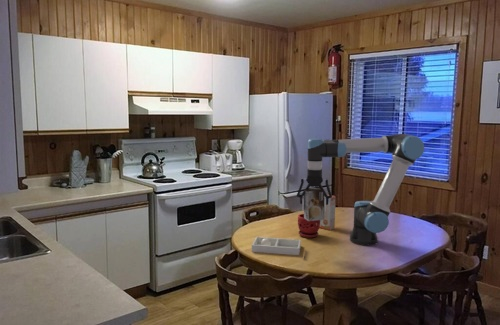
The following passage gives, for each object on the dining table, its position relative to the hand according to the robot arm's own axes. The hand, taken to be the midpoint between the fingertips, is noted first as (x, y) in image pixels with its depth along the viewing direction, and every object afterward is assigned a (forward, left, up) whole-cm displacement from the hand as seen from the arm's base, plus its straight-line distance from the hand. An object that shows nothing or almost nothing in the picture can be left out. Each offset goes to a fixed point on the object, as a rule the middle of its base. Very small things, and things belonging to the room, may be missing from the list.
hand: (314, 210), depth 219 cm
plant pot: (+3, -25, -22) cm, 34 cm away
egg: (+25, +4, -21) cm, 33 cm away
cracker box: (-5, -43, -22) cm, 48 cm away
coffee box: (0, 0, -5) cm, 5 cm away
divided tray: (+19, +4, -22) cm, 29 cm away
